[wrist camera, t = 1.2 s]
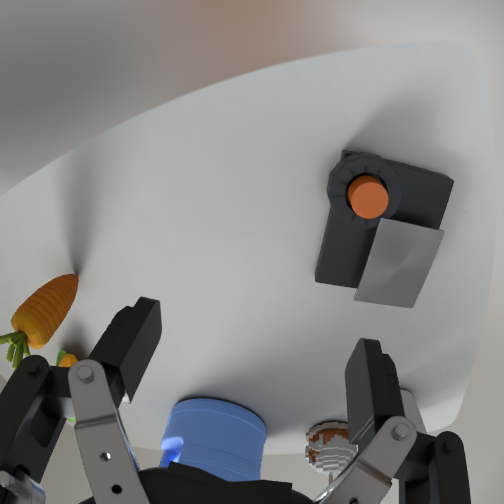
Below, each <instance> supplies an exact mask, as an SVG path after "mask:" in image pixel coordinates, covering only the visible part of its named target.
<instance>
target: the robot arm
mask: <svg viewBox="0 0 504 504" xmlns="http://www.w3.org/2000/svg"><path fill="white" fill-rule="evenodd" d="M161 332H162V323H161V309H160V302H159V300H155V299H150V298H146V297H140V298H139V299H138V301H137V302H136V304H135V306H134V307H130V306H126V307H125V308H123V309H122V310H120V311H119V312H117V314H116V315H115V317H114V318H113V320H112V321H111V324H109V326H108V327H107V329H106V331H105V332H104V333H103V335H102V336H101V338H100V340H99V341H98V343H97V344H96V346H95V347H94V349H93V351H92V352H91V354H90V355H89V357H88V358H87V359H84V360H80V361H78V362H76V363H74V364H73V365H72V366H71V367H60V366H49V364H48V362H47V360H46V359H45V358H44V357H42V356H40V355H30V356H27V357H26V358H24V359H23V360H22V361H21V362H20V363H19V365H18V366H17V368H16V369H15V371H14V373H13V374H12V376H11V377H10V379H9V381H8V382H7V384H6V386H5V387H4V389H3V391H2V392H1V394H0V504H45V501H46V496H45V492H44V490H43V488H42V487H41V486H40V485H39V484H40V482H41V479H42V477H43V474H44V471H45V469H46V466H47V464H48V461H49V459H50V456H51V454H52V452H53V449H54V447H55V444H56V442H57V440H58V438H59V435H60V433H61V431H62V429H63V426H64V424H65V422H66V420H67V418H73V419H76V425H75V426H74V429H75V434H76V439H77V442H78V447H79V450H80V454H81V458H82V461H83V465H84V468H85V472H86V475H87V478H88V481H89V484H90V487H91V490H92V493H93V497H90V498H89V499H87V500H85V501H83V502H80V503H79V504H380V502H381V501H382V499H383V498H384V497H385V495H386V494H387V492H388V491H389V489H390V488H391V485H392V482H391V480H392V478H396V479H399V504H471V498H470V488H469V480H468V472H467V465H466V458H465V452H464V446H463V443H462V440H461V439H460V437H459V436H458V435H457V434H455V433H453V432H450V431H445V432H442V433H440V434H439V435H438V436H437V437H434V436H430V435H427V434H424V433H421V432H418V431H417V430H416V428H415V426H414V424H413V423H412V422H411V421H410V420H409V419H407V418H406V417H405V412H404V406H403V401H402V396H401V391H400V386H399V381H398V377H397V372H396V367H395V364H394V362H393V361H392V359H391V358H390V356H389V355H388V354H383V353H382V350H381V345H380V342H379V340H373V339H365V338H360V339H359V341H358V343H357V345H356V347H355V349H354V351H353V353H352V355H351V357H350V359H349V361H348V363H347V366H346V370H345V383H346V397H347V413H348V434H349V444H352V445H358V452H357V453H356V454H355V455H354V457H353V458H352V459H351V460H350V461H349V463H348V464H347V465H346V466H345V467H344V469H343V470H342V471H341V472H340V473H339V474H338V476H337V477H336V478H335V479H334V480H333V481H332V482H331V483H330V484H329V485H328V486H327V487H326V489H324V490H323V491H322V492H321V493H320V494H319V495H318V496H317V497H316V498H315V499H314V500H313V501H312V500H311V499H310V498H308V497H307V496H305V495H303V494H302V493H300V492H297V491H295V490H292V483H288V482H278V481H269V480H251V481H235V482H231V481H227V480H224V479H222V478H220V477H217V476H215V475H213V474H211V473H209V472H207V471H204V470H202V469H200V468H197V467H192V466H188V465H184V464H181V463H177V462H173V461H170V462H169V466H168V467H153V468H148V469H145V470H141V469H140V467H139V464H138V462H137V460H136V457H135V455H134V453H133V450H132V448H131V445H130V442H129V439H128V437H127V434H126V431H125V428H124V425H123V422H122V419H121V416H120V413H119V410H118V408H119V406H120V403H121V401H124V402H127V403H131V401H132V399H133V397H134V394H135V392H136V390H137V388H138V386H139V383H140V381H141V379H142V377H143V375H144V373H145V370H146V368H147V366H148V364H149V362H150V360H151V358H152V356H153V353H154V351H155V349H156V347H157V345H158V343H159V340H160V337H161Z"/></svg>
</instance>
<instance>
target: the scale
mask: <svg viewBox="0 0 504 504" xmlns="http://www.w3.org/2000/svg"><path fill="white" fill-rule="evenodd" d="M360 176H372V177H374V178H376V179H377V180H378V181H379V182H380V183H381V184H382V185H383V187H384V188H385V189H386V191H387V193H388V198H389V200H388V205H387V208H386V210H385V211H384V212H383V213H382V214H381V215H380V216H378V217H375V218H370V219H368V218H363V217H361V216H359V215H358V214H356V212H355V211H354V210H353V208H352V205H351V203H350V200H349V197H348V190H349V187H350V185H351V183H352V182H353V181H354V180H355V179H356V178H358V177H360ZM453 183H454V181H453V180H452V179H451V178H449V177H448V176H445V175H442V174H439V173H435V172H432V171H428V170H425V169H421V168H418V167H414V166H410V165H407V164H403V163H399V162H395V161H391V160H387V159H383V158H381V157H380V156H377V155H373V154H368V153H364V152H360V153H357V152H352V151H347V150H342V155H341V160H340V162H339V163H338V164H337V165H336V166H335V167H334V168H333V170H332V171H331V172H330V175H329V180H328V185H327V194H328V198H329V200H330V203H331V208H330V212H329V217H328V221H327V226H326V230H325V234H324V238H323V243H322V247H321V251H320V255H319V259H318V263H317V267H316V271H315V282H318V283H325V284H331V285H338V286H344V287H351V288H357V287H358V284H359V282H360V279H361V276H362V273H363V270H364V267H365V264H366V261H367V258H368V254H369V251H370V248H371V245H372V242H373V238H374V235H375V232H376V228H377V225H378V222H379V218H380V217H385V218H390V219H395V220H400V221H404V222H409V223H413V224H418V225H422V226H427V227H431V228H435V229H439V227H440V224H441V221H442V218H443V215H444V212H445V209H446V206H447V203H448V200H449V197H450V193H451V190H452V187H453Z"/></svg>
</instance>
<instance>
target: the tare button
mask: <svg viewBox="0 0 504 504" xmlns="http://www.w3.org/2000/svg"><path fill="white" fill-rule="evenodd" d="M348 197H349V200H350V203H351V205H352V208H353V210H354V211H355V212H356V214H358V215H359V216H361V217H363V218H368V219H370V218H375V217H378V216H380V215H381V214H382V213H383V212H384V211H385V210H386V208H387V205H388V200H389V198H388V193H387V191H386V189H385V188H384V187H383V185H382V184H381V183H380V182H379V181H378V180H377V179H376V178H374V177H372V176H360V177H358V178H356V179H355V180H354V181H353V182H352V183H351V185H350V187H349V190H348Z"/></svg>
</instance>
